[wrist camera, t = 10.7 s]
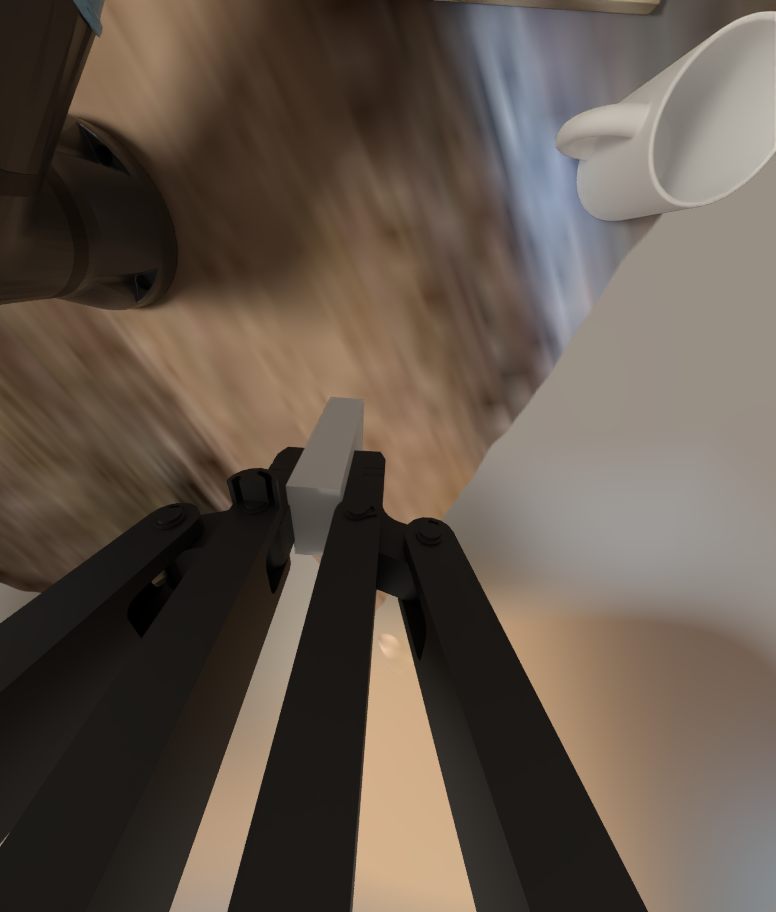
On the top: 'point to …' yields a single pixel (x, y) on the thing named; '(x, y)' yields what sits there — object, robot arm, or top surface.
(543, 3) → the board
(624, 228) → the top surface
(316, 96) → the top surface
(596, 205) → the mug
